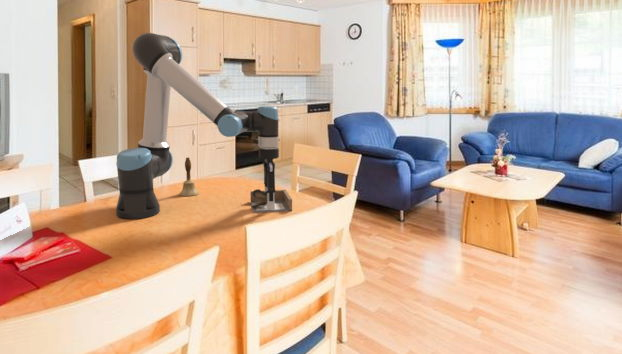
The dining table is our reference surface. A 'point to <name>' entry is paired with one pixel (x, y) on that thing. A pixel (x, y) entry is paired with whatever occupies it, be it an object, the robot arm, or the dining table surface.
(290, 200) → the tray
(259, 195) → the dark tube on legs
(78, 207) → the dining table surface
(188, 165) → the hand bell
